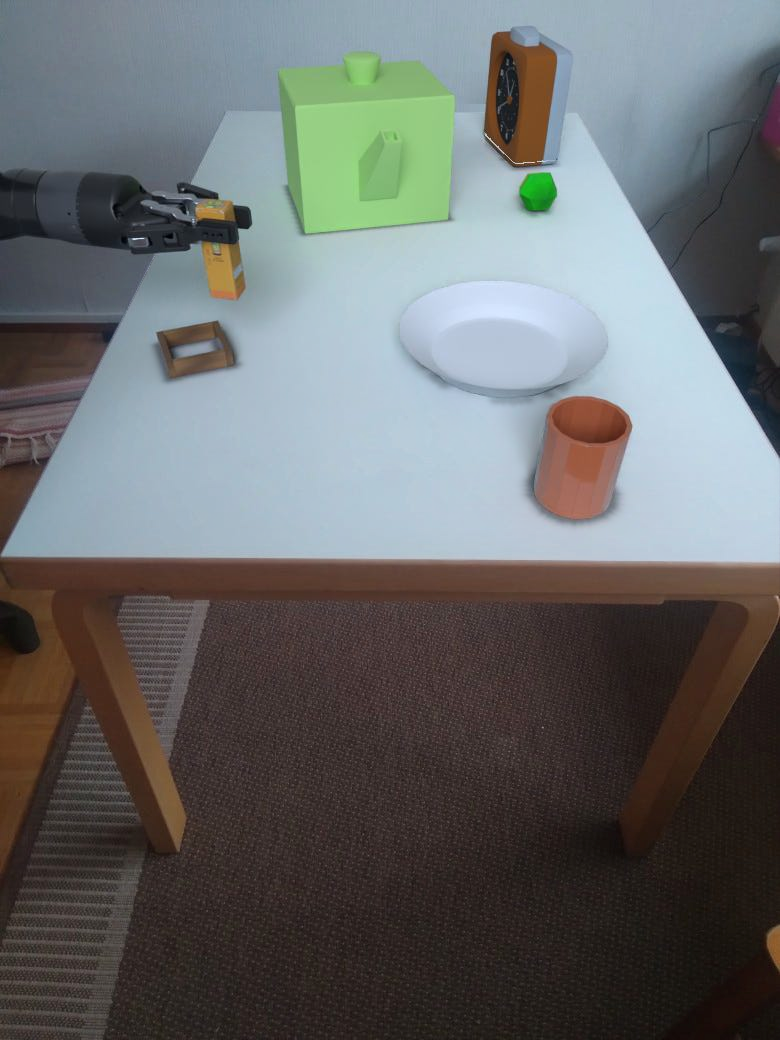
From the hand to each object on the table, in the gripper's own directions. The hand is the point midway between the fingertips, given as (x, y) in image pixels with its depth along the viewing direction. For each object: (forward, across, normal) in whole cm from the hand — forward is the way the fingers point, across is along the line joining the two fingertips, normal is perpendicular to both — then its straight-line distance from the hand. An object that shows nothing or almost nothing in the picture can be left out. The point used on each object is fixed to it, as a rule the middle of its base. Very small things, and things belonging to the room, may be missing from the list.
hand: (243, 225), depth 77 cm
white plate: (+28, +9, +18) cm, 34 cm away
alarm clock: (+23, +83, +17) cm, 88 cm away
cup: (+38, -14, +17) cm, 44 cm away
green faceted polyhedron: (+28, +57, +17) cm, 65 cm away
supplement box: (-3, 0, +8) cm, 9 cm away
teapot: (0, +51, +18) cm, 54 cm away
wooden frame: (-9, +1, +18) cm, 20 cm away
